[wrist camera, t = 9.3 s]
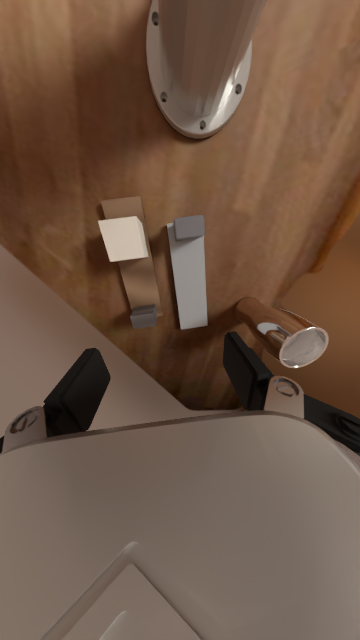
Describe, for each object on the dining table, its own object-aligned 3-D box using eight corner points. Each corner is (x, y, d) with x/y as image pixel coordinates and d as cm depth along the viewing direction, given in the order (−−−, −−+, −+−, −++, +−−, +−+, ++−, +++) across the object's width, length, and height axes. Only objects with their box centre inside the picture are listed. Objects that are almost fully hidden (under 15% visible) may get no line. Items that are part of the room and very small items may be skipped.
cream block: (111, 227, 23) (97, 220, 19) (142, 223, 23) (136, 216, 19) (120, 260, 25) (110, 261, 21) (148, 256, 25) (144, 257, 21)
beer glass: (236, 328, 34) (281, 376, 21) (228, 303, 32) (274, 340, 18) (264, 315, 34) (330, 357, 20) (258, 289, 31) (330, 316, 17)
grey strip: (166, 224, 25) (166, 216, 19) (201, 220, 25) (211, 210, 19) (180, 327, 33) (183, 341, 28) (206, 323, 33) (214, 337, 28)
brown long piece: (103, 202, 23) (83, 186, 17) (141, 198, 23) (133, 180, 17) (135, 317, 31) (128, 331, 26) (162, 313, 31) (161, 326, 26)
